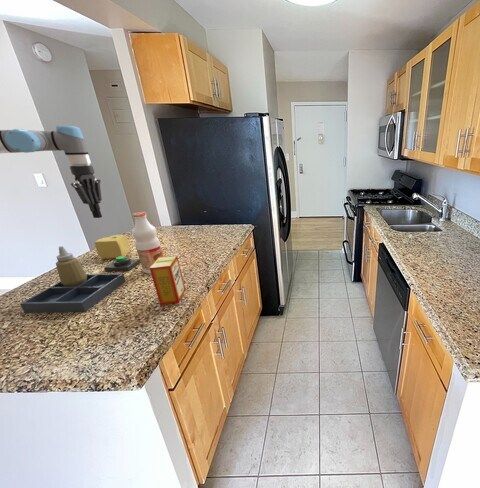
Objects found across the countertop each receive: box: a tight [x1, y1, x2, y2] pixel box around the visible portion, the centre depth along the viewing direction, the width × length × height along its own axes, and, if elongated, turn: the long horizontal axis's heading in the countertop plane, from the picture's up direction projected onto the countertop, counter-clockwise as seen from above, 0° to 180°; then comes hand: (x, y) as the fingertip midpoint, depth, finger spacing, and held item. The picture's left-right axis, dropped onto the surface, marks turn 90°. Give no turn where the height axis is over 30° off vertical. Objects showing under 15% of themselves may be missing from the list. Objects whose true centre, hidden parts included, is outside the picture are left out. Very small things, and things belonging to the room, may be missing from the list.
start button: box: [115, 255, 126, 262], centre depth 125 cm, size 4×4×2 cm
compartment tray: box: [19, 273, 127, 314], centre depth 103 cm, size 22×22×4 cm
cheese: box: [94, 234, 132, 260], centre depth 139 cm, size 10×11×10 cm
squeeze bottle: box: [55, 245, 87, 287], centre depth 105 cm, size 8×8×18 cm
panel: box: [103, 256, 141, 273], centre depth 126 cm, size 11×9×4 cm
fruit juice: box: [131, 211, 165, 275], centre depth 119 cm, size 9×9×28 cm
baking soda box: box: [150, 255, 186, 306], centre depth 100 cm, size 10×6×16 cm
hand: (97, 217), depth 121 cm, fingers closed
